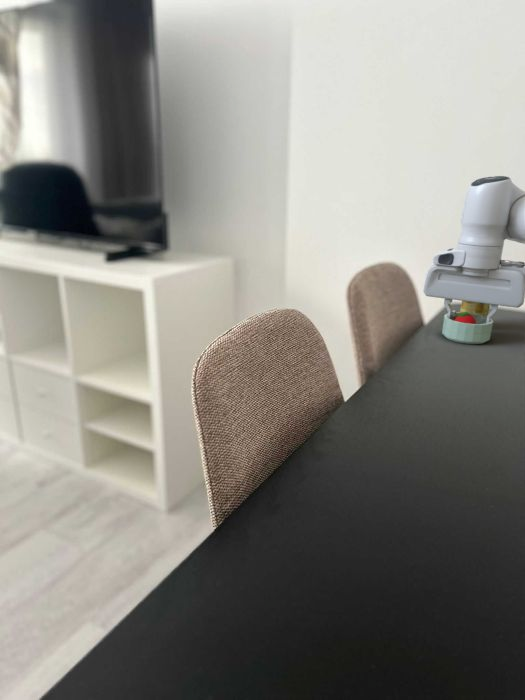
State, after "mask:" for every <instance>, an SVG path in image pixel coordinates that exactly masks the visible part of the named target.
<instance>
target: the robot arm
mask: <svg viewBox="0 0 525 700" xmlns="http://www.w3.org/2000/svg"><path fill="white" fill-rule="evenodd" d="M460 219H461V220H460V224H461V233H460V234H459V235H460V236H459V238H458V240H457V246H456V247H455V248H449V249H443V250H440V251H438V252H437V253H435V254H433V258H432V263H433V265H431V266H430V267H429V268H428V270H427V273H426V276H425V279H424V283H423V293H424V295H425V296H426V297H431V298H440V299H444V301H443V305H444V307H445V309H446V311H447V314H448V316H447V317H448V318H449V319H453V320H454V319H455V317H456V315H455V314H456V312H457V310H454V309H453V307H452V303H453V300H454V301H461V302H462V301H468V302H476V303H484V304H490V308H489V312H488V315H483V317H482V323H481V324H486V323H489V322H490V318H492V316H493V315H494V314H495V313H496V311H498V309H499V306H500V307H508V308H516V309H517V308H520V307H521V306H523V305H524V303H525V262H524V261H513V260H506V259H502V256H503V251H504V244H505V240H508V241H512V242H516V243H519V244H523V245H525V190H524V189H521V188H520V187H518V186H517V185H516V184H515V183H514V182H513V181H512V178H511V177H509V176H506V175H494V176H485V177H481V178H478V179H476V180H474V181H473V182H471V184H470V185H469V186H468V189H467V191H466V194H465V198H464V201H463V207H462V213H461V218H460Z"/></svg>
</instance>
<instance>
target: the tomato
mask: <svg viewBox="0 0 525 700" xmlns="http://www.w3.org/2000/svg"><path fill="white" fill-rule="evenodd" d="M454 321H457V322H462V323H469V324H476V320H475V318H474V317H473V316H471V315H470V314H469V313H468V312H463V313H459V314H457V317H456V318H455V319H454Z"/></svg>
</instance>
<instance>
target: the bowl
mask: <svg viewBox="0 0 525 700" xmlns="http://www.w3.org/2000/svg"><path fill="white" fill-rule="evenodd" d="M459 313H463V312H460V311H458V312H457V311H456V314H455V315H456V317H457V314H459ZM469 314H470V315H471V316H473V317H474V318H475V320H476V324H469V323H462V322H457V321H454V320H453V319H449V318H448V317H447V316H448V313H446V314H444V315H443V322H442V327H441V334H442V335H443V336H444V337H445V338H446V339H448V340H449V341H452V342H456V343H460V344H467V345H480V344H484V343H487V342H488V341H490V340H491V338H492V332H493V327H494V320H493V318H492V317H490V322H489V323H486V324H481V323H482V317H483V315H479V314H473V313H469ZM456 317H455V318H456Z"/></svg>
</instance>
